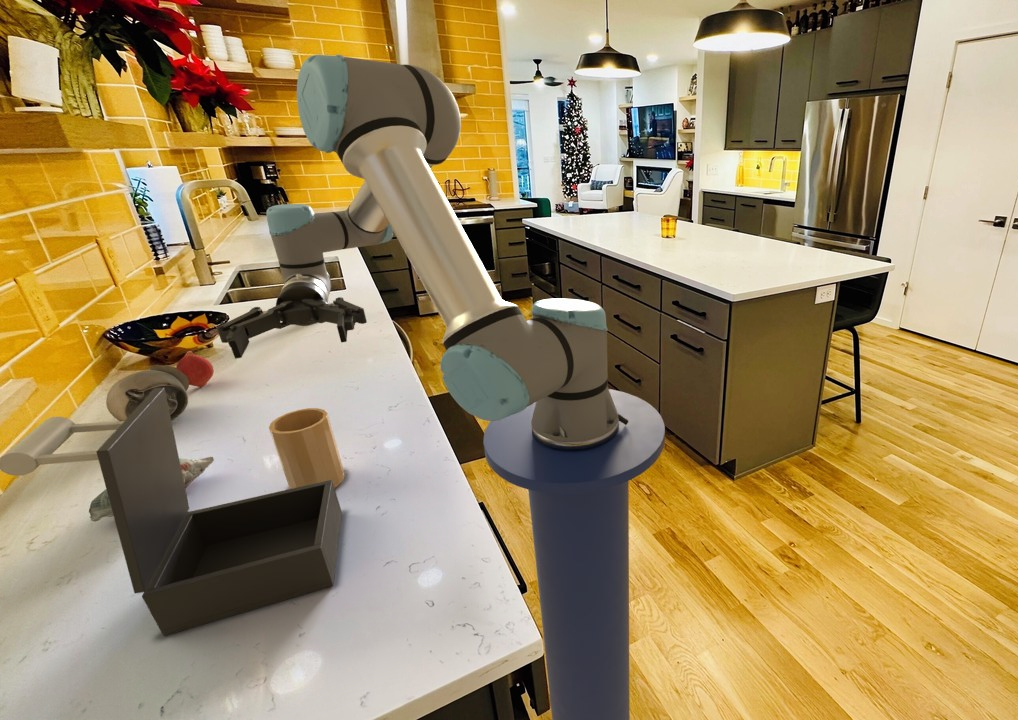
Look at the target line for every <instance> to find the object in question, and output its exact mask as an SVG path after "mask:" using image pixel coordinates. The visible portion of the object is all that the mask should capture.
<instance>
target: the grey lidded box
mask: <svg viewBox="0 0 1018 720" xmlns="http://www.w3.org/2000/svg"><path fill="white" fill-rule="evenodd" d="M342 519H343V511H342V507H341V504H340V501H339V499H338V495H337V491H336V488H334V484H333V481H332V480H328V481H324V482H319V483H315V484H311V485H306V486H302V487H297V488H293V489H290V488H289V489H285V490H280V491H276V492H270V493H266V494H262V495H258V496H253V497H248V498H244V499H239V500H236V501H232V502H231V501H230V502H227V503H221V504H217V505H213V506H208V507H205V508H200V509H195V510H191V511H188V512H187V514H186V516H185V518H184V519H183V521H182V523H181V525H180V527H179V529H178V531H177V532H176V534H175V536H174V538H173V540H172V542H171V544H170V545H169V547H168V549H167V551H166V553H165V555H164V557H163V558H162V560H161V562H160V564H159V566H158V568H157V570H156V571H155V573H154V575H153V577H152V579H151V581H150V583H149V585H148V586H147V588H146V590H145V592H142V595H141V598H142V599H143V601H144V603H145V605H146V607H147V609H148V611H149V612H150V614H151V616H152V618H153V620H154V621H155V623H156V625H157V628H158V629H159V630H160V632H161V634H162V636H163V637H165V636H169V635H172V634H176V633H178V632H182V631H185V630H188V629H192V628H196V627H199V626H203V625H205V624H209V623H213V622H216V621H219V620H224V619H225V618H229V617H233V616H236V615H239V614H243V613H247V612H250V611H253V610H256V609H259V608H263V607H266V606H270V605H273V604H276V603H279V602H283V601H287V600H290V599H292V598H297V597H300V596H304V595H307V594H311V593H313V592H317V591H321V590H323V589H327V588H330V587H333V586H334V583H335V574H336V567H337V559H338V550H339V542H340V534H341V526H342Z"/></svg>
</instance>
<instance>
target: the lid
mask: <svg viewBox="0 0 1018 720" xmlns="http://www.w3.org/2000/svg"><path fill="white" fill-rule="evenodd" d="M106 431H113V433H111V435H110V436H109V437H108V438H107V439H106V440H105V442H104V443H103V444H102V445H100V446H99V448H98V449H97V450H87V451H85V450H84V451H75V452H74V451H73V452H62V453H55V452H56V451H57V450H58V449H59V448H60V447H61V446H62V445H63V444H64V443H65V442H67V440H69V438H71V437H72V436H73V435H74V434H75V433H91V432H92V433H93V432H106ZM179 459H180V456H179V452H178V446H177V442H176V437H175V433H174V428H173V422H172V421H171V417H170V412H169V407H168V402H167V397H166V392H165V388H155V389H154V390H153V391H152V392H151V393H150V394H149V396H148V397H147V398H146V399H145V400H144V401H143V402H142V403H141V404H140V405H139V406H138V407H137V408H136V409H135V411H134V412H133V413H132V414H131V415H130V416H129V417H128V418H127V419H126V420H125V421H118V420H117V421H100V422H86V423H85V422H84V423H75V422H74V421H73V420H72V419H70V418H68V417H64V416H52V417H49V418H47V419H45V420H44V421H43V422H41V424H39V425H38V426H37V427H35V428H34V429H33V430H32V431H30V433H28V434H27V435H26V436H24V437H23V438H22V439H21V440H19V441H18V442H17V443H16V444H15V445H13V446H12V447H11V448H10V449H9V450H7V451H6V452H5V453H4V454H2V455H1V456H0V471H1V472H2V473H3V474H7V475H10V476H17V477H20V476H26V475H30V474H31V473H33V472H34V471H35V470H37V469H38V468H39V466H42V465H43V466H44V465H54V464H66V463H78V462H89V461H90V462H91V461H98V463H99V467H100V470H101V471H100V472H101V474H102V478H103V481H104V485H105V489H107V493H108V497H109V501H110V504H111V508H112V512H113V515H114V516H113V519H114V522H115V526H116V530H117V534H118V538H119V541H120V545H121V548H122V552H123V556H124V560H125V564H126V567H127V571H128V574H129V579H130V582H131V586H132V590H133V593H134V594H140V593H141V594H142V593H144V592H145V590H146V588H147V586H148V585H149V583H150V581H151V579H152V577H153V575H154V573H155V571H156V570H157V568H158V566H159V564H160V562H161V560H162V558H163V557H164V555H165V553H166V551H167V549H168V547H169V545H170V544H171V542H172V540H173V538H174V536H175V534H176V532H177V531H178V529H179V527H180V525H181V523H182V521H183V519H184V518H185V516H186V514H187V512H189V510H190V505H189V500H188V496H187V490H186V489H185V485H184V480H183V475H182V471H181V466H180V461H179Z"/></svg>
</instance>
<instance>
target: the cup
mask: <svg viewBox="0 0 1018 720" xmlns="http://www.w3.org/2000/svg"><path fill="white" fill-rule="evenodd" d="M330 420H331V419H330V417H329V414H328V412H327V411H326V410H325V409H322V408H318V407H311V408H308V407H307V408H302V409H296V410H293V411H289V412H286V413H285V414H282V415H281V416H278V417H276V418H275V419H274V420H272V421H271V422H270V424H269V427H268V429H269V433H270V435H271V439H272V442H273V445H274V447H275V450H276V453H277V456H278V459H279V462H280V465H281V468H282V470H283V474H284V476H285V480H286V482H287V485H288V488H289V489H293V488H297V487H302V486H306V485H311V484H315V483H319V482H324V481H328V480H332V481H333V484H334V488H335V489H336V488H338V487H339V486H340V485H341V484H342V483H343V482H344V480H345V477H346V476H345V469H344V466H343V463H342V460H341V456H340V453H339V449H338V445H337V442H336V438H335V435H334V431H333V427H332V424H331V421H330Z"/></svg>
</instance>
